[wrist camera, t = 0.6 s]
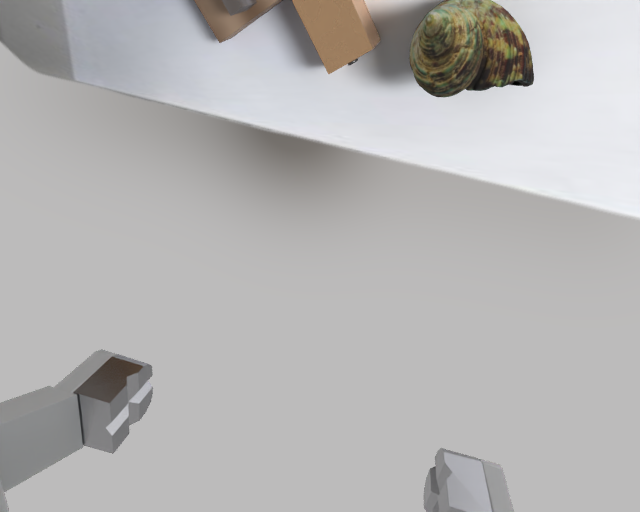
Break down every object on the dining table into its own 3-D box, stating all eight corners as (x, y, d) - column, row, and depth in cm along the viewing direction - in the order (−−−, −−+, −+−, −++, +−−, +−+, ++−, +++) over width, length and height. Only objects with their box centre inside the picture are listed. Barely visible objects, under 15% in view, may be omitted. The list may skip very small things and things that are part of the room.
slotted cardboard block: (349, -35, 42) (337, -33, 39) (381, 42, 46) (374, 52, 42) (306, -5, 45) (291, 0, 41) (340, 66, 49) (329, 76, 45)
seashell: (439, 114, 49) (434, 147, 41) (401, 21, 44) (387, 38, 37) (534, 72, 43) (548, 100, 36) (502, -40, 39) (510, -35, 31)
